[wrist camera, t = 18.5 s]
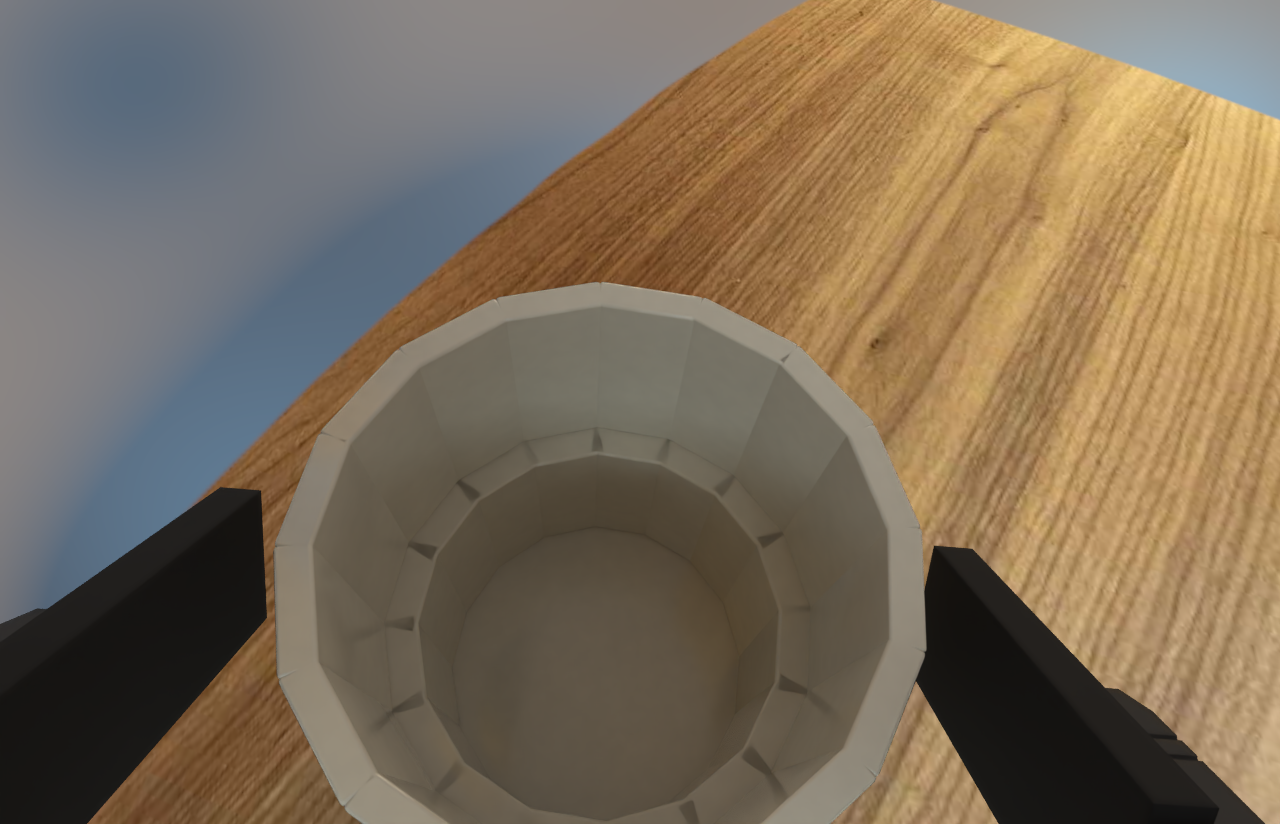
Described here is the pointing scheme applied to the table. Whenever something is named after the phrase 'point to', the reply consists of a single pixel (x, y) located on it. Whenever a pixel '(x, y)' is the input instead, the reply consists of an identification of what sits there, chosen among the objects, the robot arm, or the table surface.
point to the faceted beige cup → (599, 574)
